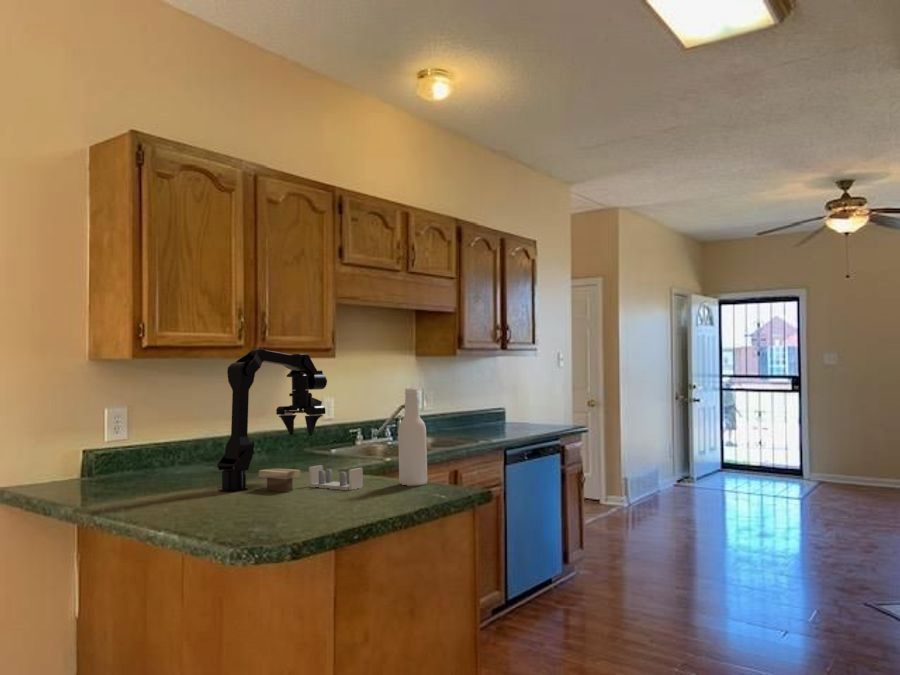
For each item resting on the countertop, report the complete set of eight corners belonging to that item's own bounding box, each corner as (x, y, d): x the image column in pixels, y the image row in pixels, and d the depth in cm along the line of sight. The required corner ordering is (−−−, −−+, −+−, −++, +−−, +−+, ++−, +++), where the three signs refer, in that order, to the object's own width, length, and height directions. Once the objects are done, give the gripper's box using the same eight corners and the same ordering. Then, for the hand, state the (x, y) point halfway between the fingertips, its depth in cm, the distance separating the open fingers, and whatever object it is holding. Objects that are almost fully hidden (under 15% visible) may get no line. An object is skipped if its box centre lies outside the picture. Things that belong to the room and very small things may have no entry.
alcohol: (395, 483, 219) (393, 388, 221) (420, 481, 223) (418, 388, 225) (406, 487, 211) (403, 388, 213) (432, 484, 215) (429, 388, 217)
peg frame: (349, 490, 207) (349, 470, 208) (307, 486, 217) (306, 467, 218) (365, 487, 213) (364, 467, 214) (322, 483, 223) (322, 464, 224)
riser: (285, 491, 209) (284, 478, 209) (267, 489, 213) (267, 476, 213) (292, 490, 211) (292, 476, 211) (274, 488, 216) (274, 475, 216)
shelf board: (285, 479, 207) (285, 472, 207) (258, 477, 213) (258, 470, 213) (300, 476, 212) (300, 470, 212) (273, 474, 218) (273, 468, 218)
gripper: (336, 389, 240) (337, 434, 239) (298, 390, 251) (299, 433, 250) (313, 390, 231) (313, 436, 230) (275, 390, 242) (275, 435, 241)
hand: (300, 435), depth 238 cm, fingers open, 9 cm apart
